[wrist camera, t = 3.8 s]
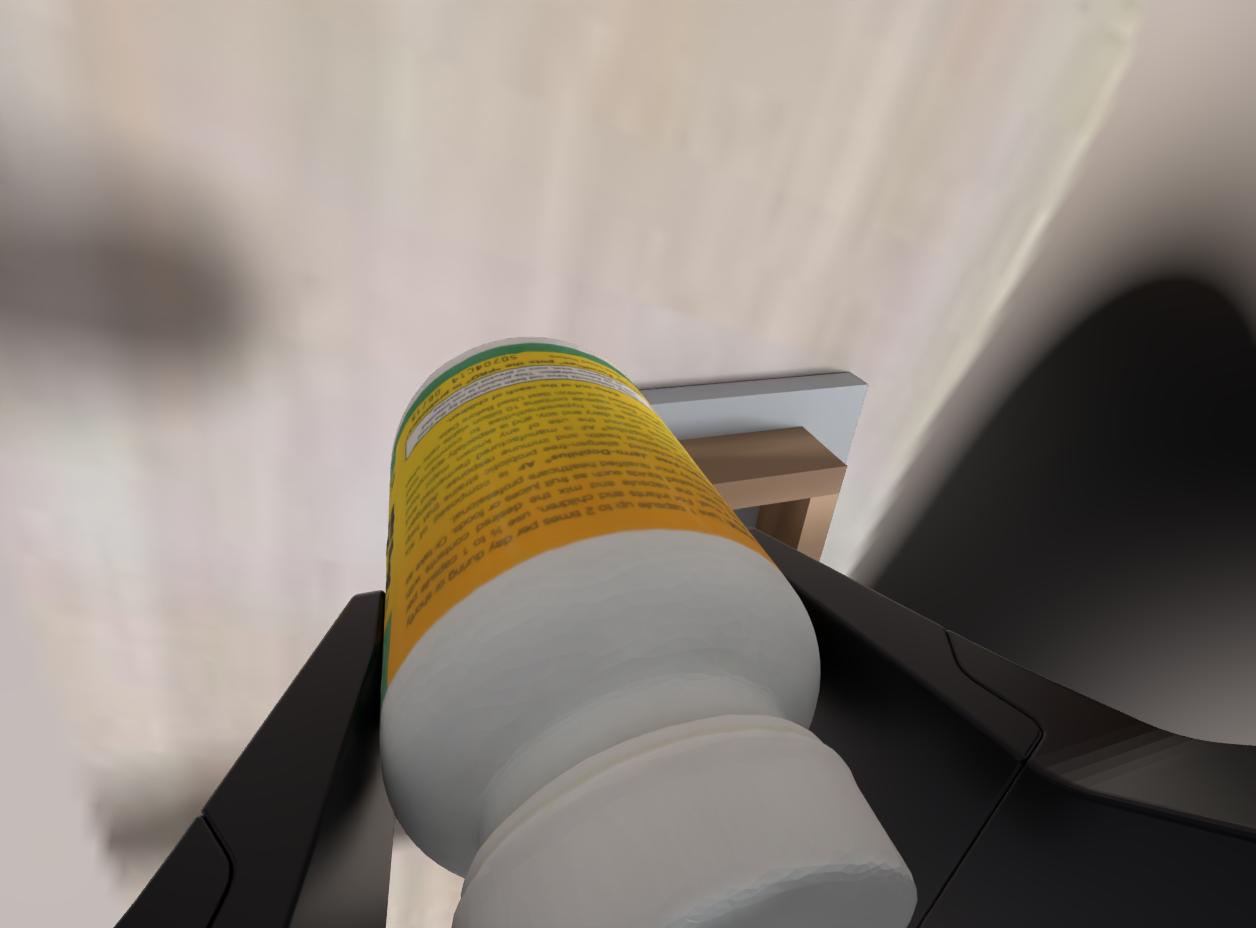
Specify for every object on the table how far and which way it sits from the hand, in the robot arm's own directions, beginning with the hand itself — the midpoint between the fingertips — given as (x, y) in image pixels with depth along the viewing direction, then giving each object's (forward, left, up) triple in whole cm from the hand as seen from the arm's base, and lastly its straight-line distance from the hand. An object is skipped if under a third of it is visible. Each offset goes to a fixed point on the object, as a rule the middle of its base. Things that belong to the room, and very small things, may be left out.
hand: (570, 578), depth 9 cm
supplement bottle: (0, 0, -4) cm, 4 cm away
